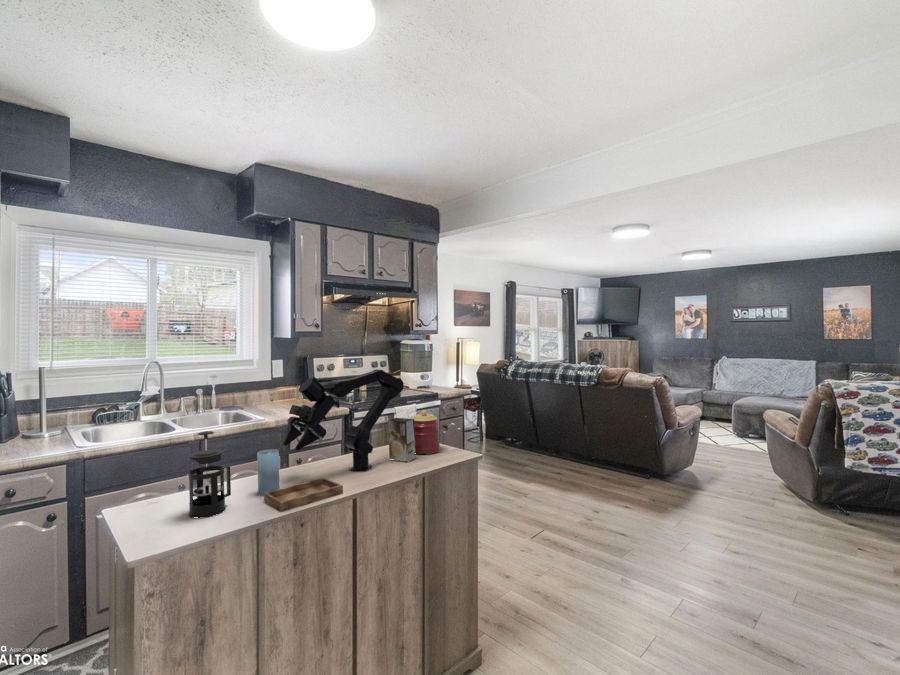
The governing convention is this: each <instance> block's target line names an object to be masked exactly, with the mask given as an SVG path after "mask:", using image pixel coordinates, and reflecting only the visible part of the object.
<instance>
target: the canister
mask: <svg viewBox="0 0 900 675" xmlns="http://www.w3.org/2000/svg"><path fill="white" fill-rule="evenodd" d="M410 419H414V425H415V453H416V454H415V455H417V454H429V455H432V454H431V453H434V454H437V453H439V452H440V450H441V449H440V448H441V444H440V430H439V425H440V422H439V421H437V419H438V417H437V416H436V415H434V414H431V413H428V412H427V410H425V409H423V410H421V412H420V414H415V415H414V416H412V417H411V418H410ZM438 451H439V452H438ZM436 452H437V453H436Z"/></svg>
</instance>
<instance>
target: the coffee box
mask: <svg viewBox="0 0 900 675" xmlns="http://www.w3.org/2000/svg"><path fill="white" fill-rule="evenodd" d="M387 422H388V425H387V427H388V454H389V456H388V457H389V460H390V459H394V460H400V461H399V462H402V461H409V462H411V461H413V460H412V459H414V458H416V454H415V425H414V419H411V418H408V417H407V418H406V417H395V418H391V419H389V420H388V421H387ZM394 460H393V461H394ZM410 460H411V461H410ZM414 460H415V459H414Z"/></svg>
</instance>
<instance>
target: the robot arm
mask: <svg viewBox="0 0 900 675" xmlns="http://www.w3.org/2000/svg"><path fill="white" fill-rule="evenodd" d="M375 382H377V383H378V385H380V390H379V395H378V397H377V398H376V399H375V401H374V402H373V403H372V405H371V406H370V408H369V409H368V411H367V413H366V414H365V416H364V417H363V419H362V420H361V421H360V423H359V424H357V425H355V426H354V425H351V426H350V428H349V430H348V431H347V432H346V433H345V436H344V444H345V446H346V447H347V449H348V451H349V452H352V467H350V468H349V471H356V472H359V471H360V472H361V471H362V472H363V471H364V472H366V471H367V470H369V469H370V468H371V467H373V466H372V464H369V454H372V453H373V450H374V446H373V445H372V444H370V443H369V440H370V437H371V436H370V435H371V430H372V429H373V428H374V426H375V425H376V423H377V422H378V420H379V419H380V417H381V416H382V414H383V412H384V411H385V409H387V407H388V405H389V404H390V402H391V401H393V399H395V398H396V397H398V396H399V395H400V394H401V393H402V392H403V390H404V388H405V385H404V384H405V383H404V381H403V380H402V378H399V377H396V376H393V375H391V374H389V373H387V372H386V371H385V370H384V369H377V368H376V369H373V370H372V371H368V372H365V373H362V374H359V375H357V376H353V377H350V378H343V379H334V380H331V381H329V382H328V383H327V384H324V385H323V384H322V383H320V382H319V381H318V379H317V378H316V377H315V376H313V377H310V378H309V379H306V381H305V382H303V383H301V385H300V386H299V387H298V392H299V393H300V394H301V395H303V397H304V398H306V399H307V400H308V401H309V402H311V403H313V402H315V403H314V404H313V405H312V406H309V405H306V404H302V405H300V406H299V405H296V404H291V407H290V410H289V412H288V414H289V415H291V416H290V417H289V418H288V419H287V421H286V422H287V425H288V430H287V433H286V435H285V438H284V441H283V443H282V445H283V446H284V447H286V446H288V445H289V444H291V443H292V442H293V441H295V440H296V439H297V438H299V437H300V436H301V438H300V440H298V442H297V444H296V445H295V448H294V449H295V451H300V450H302V449H303V448H305V447H306V446H309V445H310V444H312V443H315V442H316V441H319V440H321V439H324V438H325V436H326V435H327V429H325V427H323V426H322V425H321V423H322V421H326V419H327V417H326V416H327V415H328V414H329V412H330V411H331V410H332V409H333V408H337V409H340V408H341V407H340V406H341V405H340V400H339V399H335V398H334V397H336V398H343V397H345V396H347V395H349V394H350V393H351V392H353V391H354V390H355V389H359V388H360V387H361V388H362V387H363V386H367V385H370V384H372V383H375ZM327 394H328V395H327ZM292 415H293V416H292Z"/></svg>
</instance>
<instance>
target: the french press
mask: <svg viewBox="0 0 900 675" xmlns="http://www.w3.org/2000/svg"><path fill="white" fill-rule="evenodd" d="M214 433H215V432H214V431H211V430H210V431H209V430H207V431H201V432H198V433H197V435H198V436H203V439H204V440H205V442H204V445H205V449H204V450H198V451H195V452H192V453H189V454H188V455H187V456H188V458H189V460H190V461H191V462H194V461H195V462H197V463H198V464H199V465H205V466H200V467H197V468H194V469H191V470H190V471H189V472H188V481H189V482H188V483H189V484H188V485H189V486H188V487H189V490H188V491H189V493H188V494H189V503H188V504H189V505H188V506H189V512H188V516H189V517H190V516H191V517H198V518H197V519H201V518H200V517H206V518H210V516H211V517H214V516H213V515H215V516H217V515H216V514H218V515H220V514H222V513H224V512H225V511H226V510H225V509H227V507H226V499H225V498H227V497H230V496H232V495H231V494H232V489H231V467H230V465H208V464H213V463H217V462H221V461H222V460H223V454H224V451H225V450H224V449H217V448H216V449H208V443H207V441H208V438H209V435H212V434H214ZM225 469H226V474H225ZM209 471H215V472H211V473H208V472H209ZM204 472H205V474H204ZM224 475H226V493H225V476H224ZM219 476H220V477H219ZM218 477H219V478H220V482H219V483H220V484H218ZM209 479H210V484H208V483H209V482H208V481H209ZM194 480H195V481H196V488H194V484H193V482H194ZM204 480H206V481H205V483H206V485H204ZM219 493H220V494H219ZM194 497H195V499H194ZM224 510H225V511H224ZM223 511H224V512H223ZM221 512H222V513H221ZM219 513H220V514H219ZM191 517H190V518H191Z"/></svg>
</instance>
